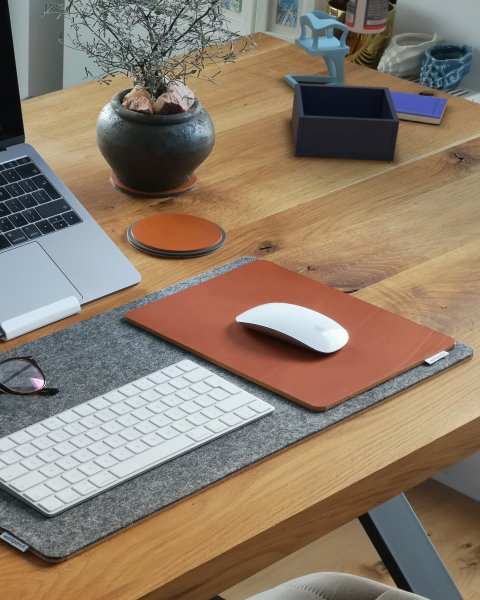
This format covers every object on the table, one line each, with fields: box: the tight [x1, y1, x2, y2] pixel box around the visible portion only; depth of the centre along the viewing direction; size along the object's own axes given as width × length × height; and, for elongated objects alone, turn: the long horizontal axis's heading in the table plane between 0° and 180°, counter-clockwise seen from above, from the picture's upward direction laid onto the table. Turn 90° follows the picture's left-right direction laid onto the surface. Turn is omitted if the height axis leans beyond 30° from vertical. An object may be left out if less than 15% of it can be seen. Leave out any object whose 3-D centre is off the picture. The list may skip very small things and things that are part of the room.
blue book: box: [389, 90, 448, 125], centre depth 169 cm, size 2×8×12 cm
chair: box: [284, 10, 351, 90], centre depth 175 cm, size 8×8×12 cm
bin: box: [291, 83, 400, 162], centre depth 158 cm, size 13×13×6 cm
